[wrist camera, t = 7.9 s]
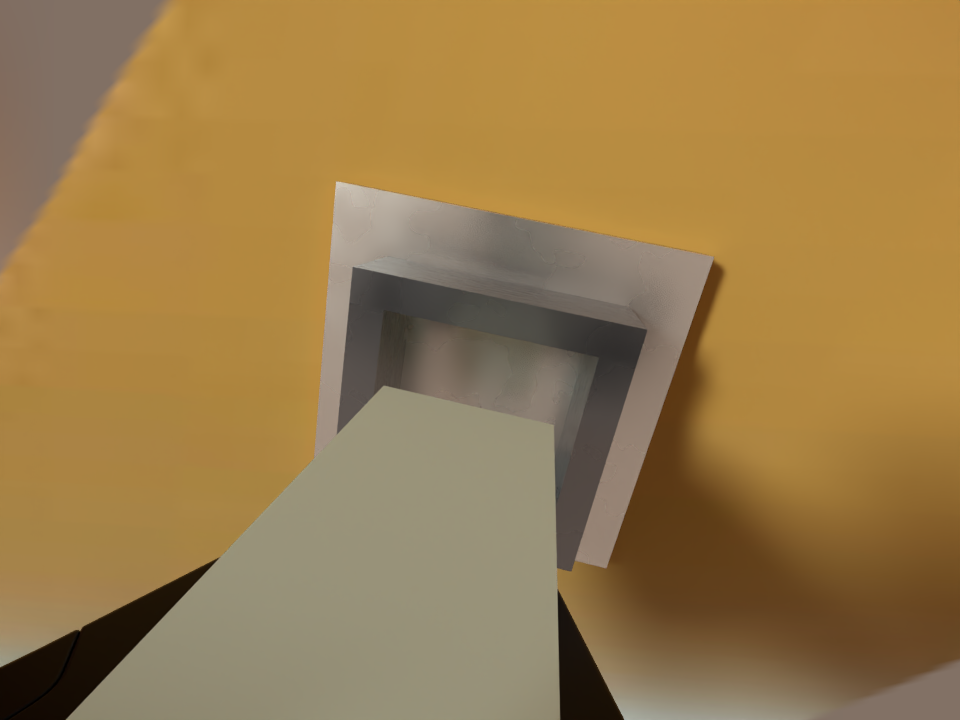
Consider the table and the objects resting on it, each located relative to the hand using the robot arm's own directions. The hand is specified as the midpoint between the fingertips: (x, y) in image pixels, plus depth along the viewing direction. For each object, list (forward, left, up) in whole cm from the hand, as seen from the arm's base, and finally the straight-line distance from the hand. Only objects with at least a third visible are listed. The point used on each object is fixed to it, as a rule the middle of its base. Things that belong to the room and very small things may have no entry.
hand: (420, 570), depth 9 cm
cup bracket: (0, 0, -9) cm, 9 cm away
